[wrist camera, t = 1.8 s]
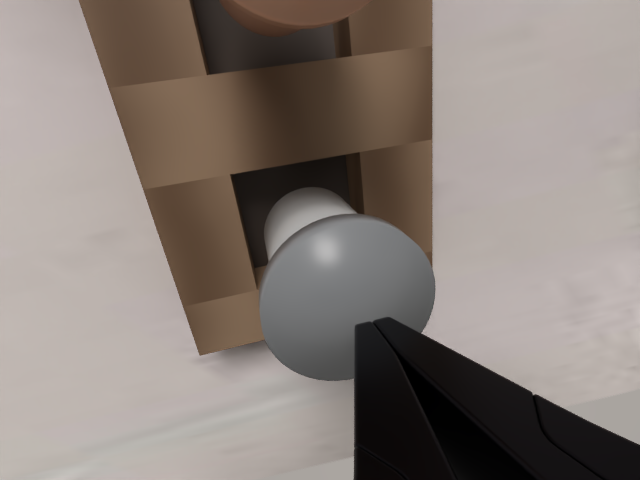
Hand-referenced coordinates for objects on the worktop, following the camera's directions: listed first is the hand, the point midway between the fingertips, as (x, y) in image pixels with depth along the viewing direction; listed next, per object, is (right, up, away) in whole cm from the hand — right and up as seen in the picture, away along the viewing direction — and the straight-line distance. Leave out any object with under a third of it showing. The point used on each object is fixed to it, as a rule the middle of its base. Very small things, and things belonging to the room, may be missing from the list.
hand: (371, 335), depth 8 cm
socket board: (-3, +8, +8) cm, 11 cm away
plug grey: (-2, +3, +6) cm, 7 cm away
